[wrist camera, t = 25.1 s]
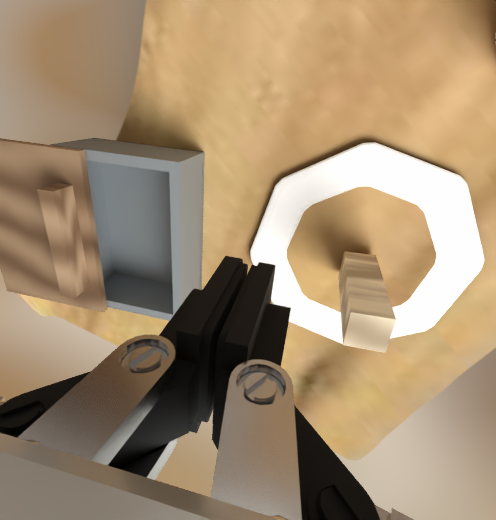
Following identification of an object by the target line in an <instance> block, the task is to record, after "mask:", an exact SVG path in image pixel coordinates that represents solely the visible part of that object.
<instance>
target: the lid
mask: <svg viewBox="0 0 496 520" xmlns="http://www.w3.org/2000/svg"><path fill="white" fill-rule="evenodd" d="M0 269H1V272H2V275H3V278H4V281H5V285H6V288H7V291H10V292H15V293H19V294H24V295H28V296H32V297H37V298H41V299H46V300H50V301H55V302H59V303H64V304H68V305H73V306H77V307H81V308H86V309H90V310H95V311H99V312H104V311H105V310H107V309H108V307H107V300H106V294H105V287H104V280H103V273H102V266H101V259H100V252H99V245H98V239H97V232H96V225H95V218H94V211H93V204H92V197H91V190H90V184H89V177H88V170H87V163H86V156H85V150H81V149H73V148H66V147H59V146H51V145H44V144H36V143H30V142H22V141H14V140H7V139H0Z"/></svg>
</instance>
